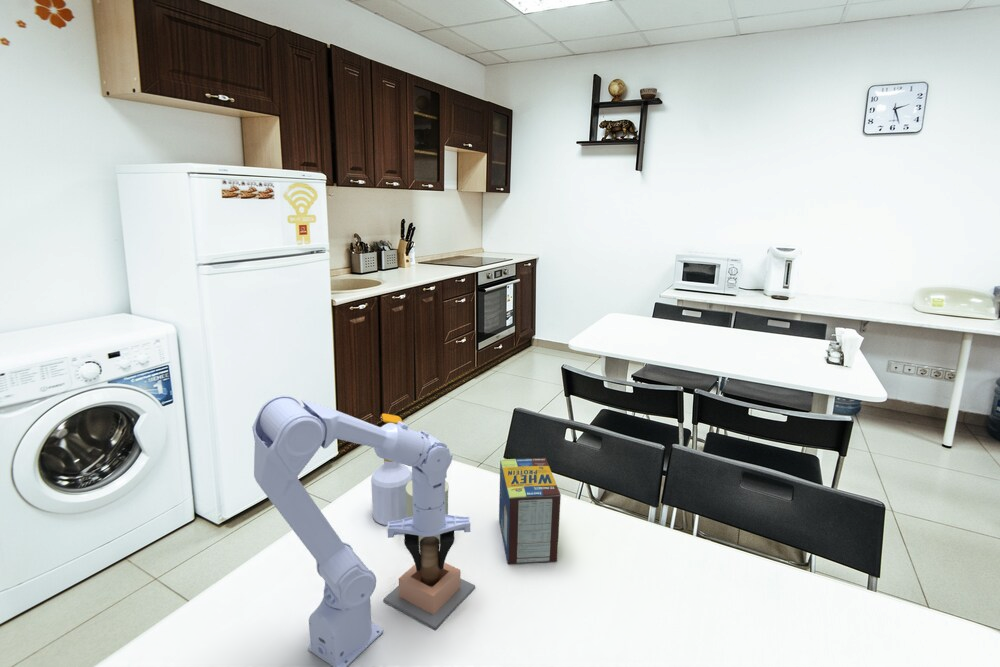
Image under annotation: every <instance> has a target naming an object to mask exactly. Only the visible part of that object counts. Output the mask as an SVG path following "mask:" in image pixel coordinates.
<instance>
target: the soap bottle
mask: <svg viewBox="0 0 1000 667" xmlns="http://www.w3.org/2000/svg"><path fill="white" fill-rule="evenodd" d="M381 420H382V421H383V422H384V423H385V424H387V423H394V424H397V423H398V422H399V421H400V422H403V420H402V418H401V417H400V416H398V415H394V414H391V413H389V414H388V413H382V414H381ZM411 480H412V470H411V469H410V468H409V466H407V465H404V464H400V463H397V462H393V461H390V460H386V459H383V464H381V465H380V466H378V467H377V468H376V469H375V470H374V471H373V473H372V475H371V479H370V481H371V482H370V483H371V485H370V486H371V504H372V505H371V506H372V517H373V519H374V521H375V522H376V523H378V524H380V525H383V526H388V522H392V521H398V520H401V519H405V518H407V507H406V490H405V488H406V485H407V483H408V482H409V481H411Z"/></svg>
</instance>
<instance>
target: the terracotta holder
mask: <svg viewBox="0 0 1000 667" xmlns="http://www.w3.org/2000/svg"><path fill="white" fill-rule="evenodd" d="M475 589H476V585H475V584H473V583H471V582H469V581H466V580H465V579H463V578H461V569H460V568H458V567H455V566H453V565H452V564H451V565H450V564H448V563H447V562H444V567H443V569H440V580H439V582H438V583H436V584H435V585H434V586H428V585H426V584H424V583H422V582H421V580H420V571H416V565H415V564H414V565H412V566H411V567H410V568H409V569H408V570H407V571H405V572H404V573H403V574H402V575H401V576H399V577H398V585H397V586H396V587H395V588H394V589H393V590H392V591H390V593H388V594H386V596H385V597H383V599H382V600H383V603H385V604H386V605H388V606H390V607H392V608H395V610H398V611H400V612H402V613H404V614H405V615H406V616H409V617H410V618H412V619H415V620H416V621H417V622H419V623H421V624H423V625H425V626H427V627H429V628H430V629H433V630H434V631H436V630H437V629H438V628H439V627H440V626H441V625H442V624H443V623H444V622H445V621H446V620H447V619H448V618H449V617H450V616H451V615H452V613H453V612H454V611H455V610H456V609H457V608H458V607H459V606H460V605H461V604H462V603H463V602H464V601H465V600H466V599H467V598H468V596H470V594H471V593H473V591H474V590H475Z"/></svg>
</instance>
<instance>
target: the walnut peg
mask: <svg viewBox="0 0 1000 667" xmlns="http://www.w3.org/2000/svg"><path fill="white" fill-rule="evenodd" d="M419 551H420V580H421V582H422V583H424V584H426V585H428V586H434V585H435V584H436V583H438V582H439V580H440V568H439V551H440V544H439V539H438V538H437V537H434V536H430V537H424V538H422V539H421V540H420V546H419Z"/></svg>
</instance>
